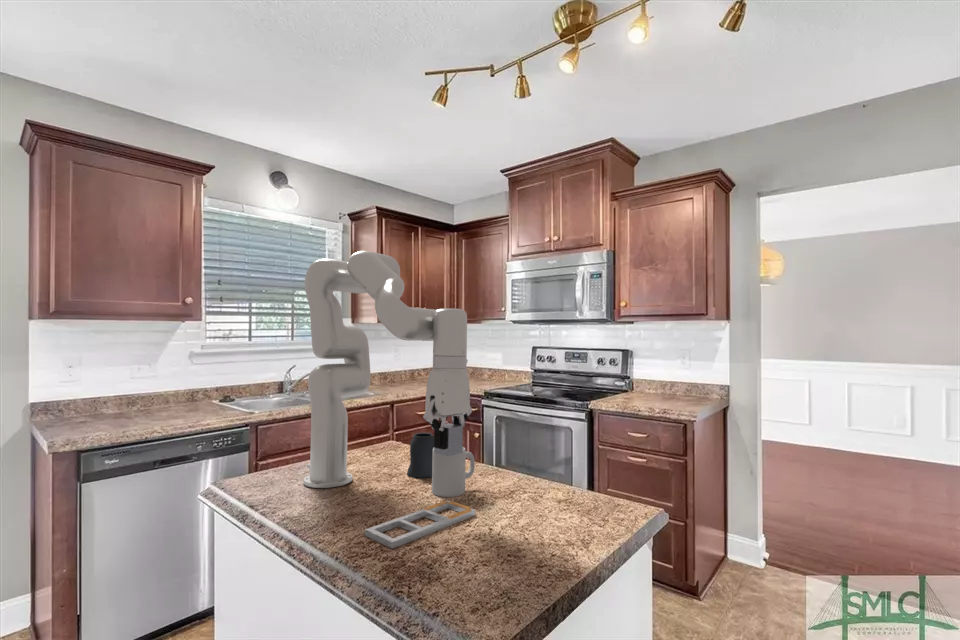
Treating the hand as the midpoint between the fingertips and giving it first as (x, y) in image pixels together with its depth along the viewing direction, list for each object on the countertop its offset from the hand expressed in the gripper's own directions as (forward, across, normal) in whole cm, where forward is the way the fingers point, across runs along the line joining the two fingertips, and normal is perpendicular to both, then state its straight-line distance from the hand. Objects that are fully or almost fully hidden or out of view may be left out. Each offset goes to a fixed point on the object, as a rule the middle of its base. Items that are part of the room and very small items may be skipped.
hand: (448, 445), depth 105 cm
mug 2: (+16, -19, -28) cm, 37 cm away
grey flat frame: (+15, +7, 0) cm, 17 cm away
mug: (+16, -13, -11) cm, 23 cm away
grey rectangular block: (+2, 0, 0) cm, 2 cm away
